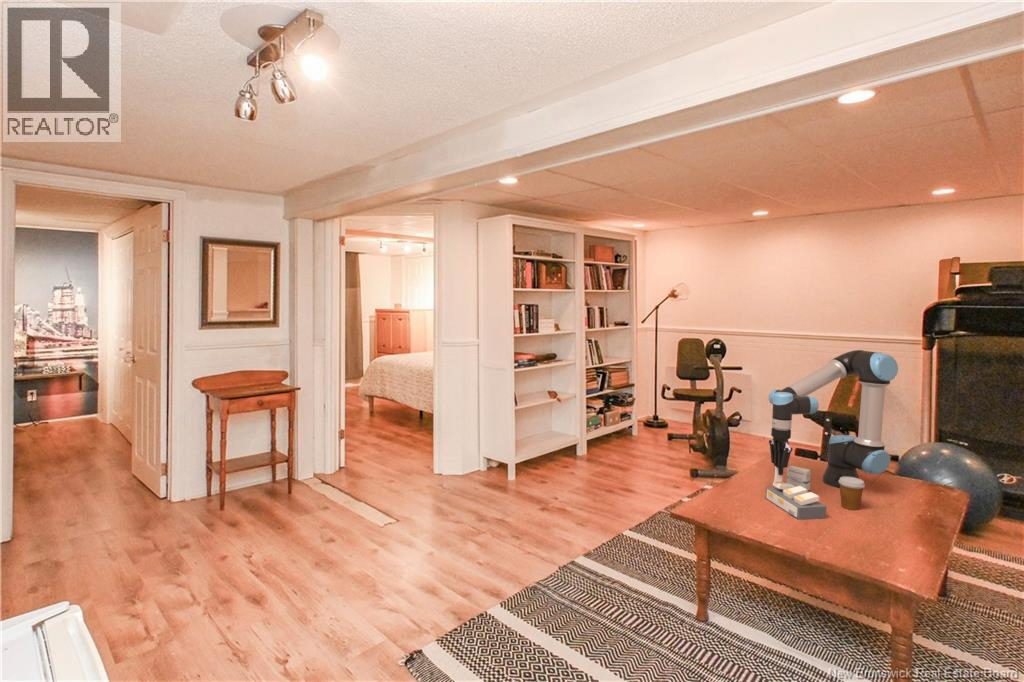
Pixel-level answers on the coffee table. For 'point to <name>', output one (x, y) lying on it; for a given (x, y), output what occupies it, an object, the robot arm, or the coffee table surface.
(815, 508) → the switch unit
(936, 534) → the coffee table surface
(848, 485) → the disposable coffee cup
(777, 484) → the rocker
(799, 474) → the ink box
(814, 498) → the block
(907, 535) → the coffee table surface
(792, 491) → the rocker
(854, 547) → the coffee table surface
